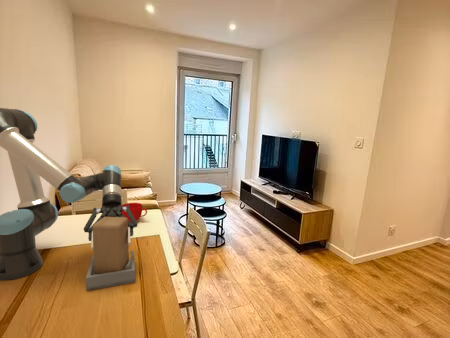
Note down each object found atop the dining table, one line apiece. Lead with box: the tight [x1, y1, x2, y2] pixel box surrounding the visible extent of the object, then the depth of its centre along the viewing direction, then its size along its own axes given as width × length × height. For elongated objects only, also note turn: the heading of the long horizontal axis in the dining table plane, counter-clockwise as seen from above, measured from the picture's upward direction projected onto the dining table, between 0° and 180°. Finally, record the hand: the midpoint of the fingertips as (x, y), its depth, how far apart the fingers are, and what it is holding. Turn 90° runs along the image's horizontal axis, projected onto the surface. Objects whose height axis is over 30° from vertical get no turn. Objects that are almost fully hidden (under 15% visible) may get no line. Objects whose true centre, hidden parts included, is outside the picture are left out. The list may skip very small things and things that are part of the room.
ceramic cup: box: [121, 202, 148, 224], centre depth 157 cm, size 13×17×10 cm
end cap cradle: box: [85, 250, 136, 292], centre depth 99 cm, size 16×16×5 cm
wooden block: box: [92, 217, 130, 274], centre depth 98 cm, size 10×10×20 cm
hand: (111, 246), depth 96 cm, fingers closed on wooden block, 12 cm apart
